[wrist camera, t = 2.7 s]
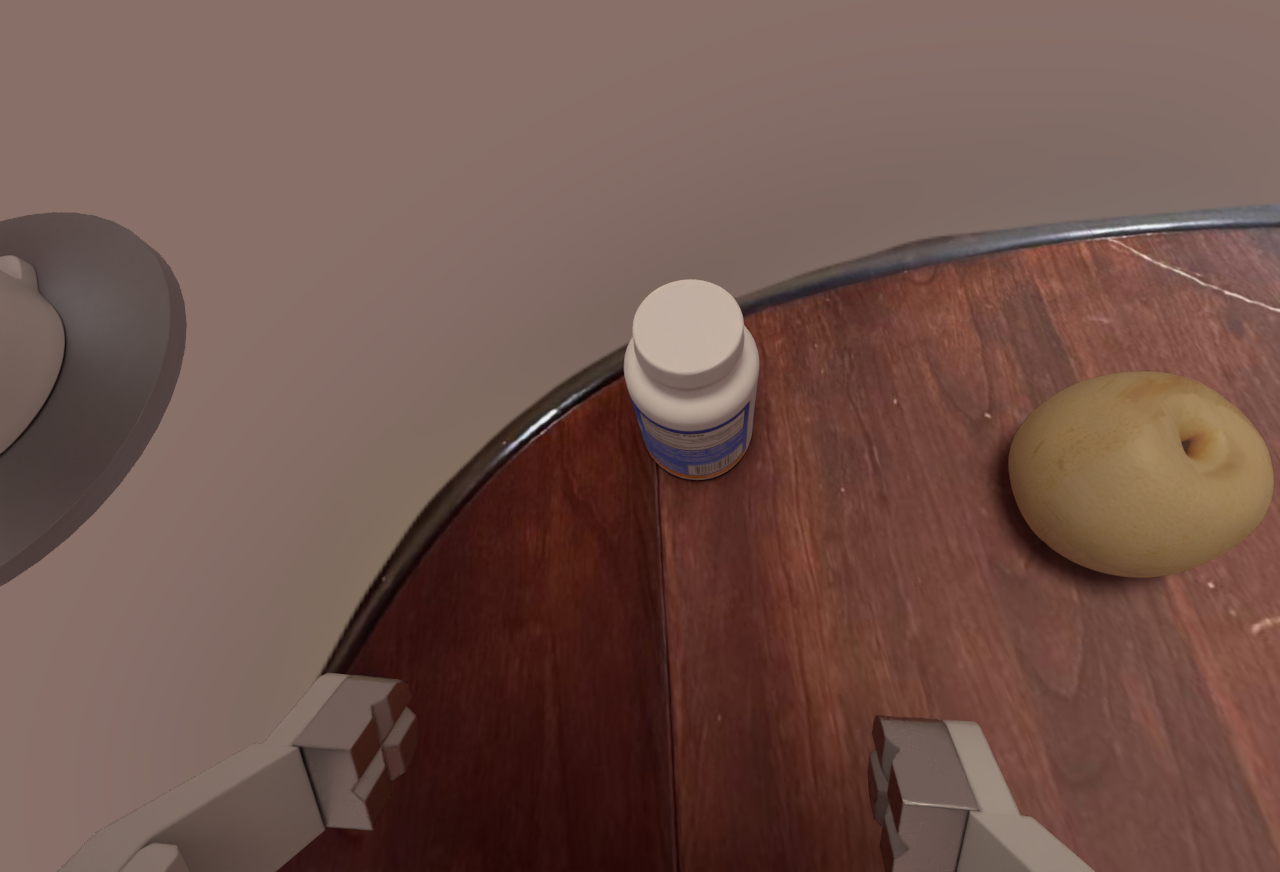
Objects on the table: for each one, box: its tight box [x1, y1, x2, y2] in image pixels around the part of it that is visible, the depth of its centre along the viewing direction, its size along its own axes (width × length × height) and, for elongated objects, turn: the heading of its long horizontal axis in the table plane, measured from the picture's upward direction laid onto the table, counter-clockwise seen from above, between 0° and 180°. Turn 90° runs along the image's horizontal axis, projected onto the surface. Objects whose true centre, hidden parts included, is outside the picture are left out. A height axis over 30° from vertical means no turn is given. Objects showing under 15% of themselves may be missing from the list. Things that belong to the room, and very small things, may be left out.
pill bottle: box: [624, 280, 759, 480], centre depth 26 cm, size 5×5×10 cm
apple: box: [1008, 371, 1274, 578], centre depth 24 cm, size 8×8×8 cm
